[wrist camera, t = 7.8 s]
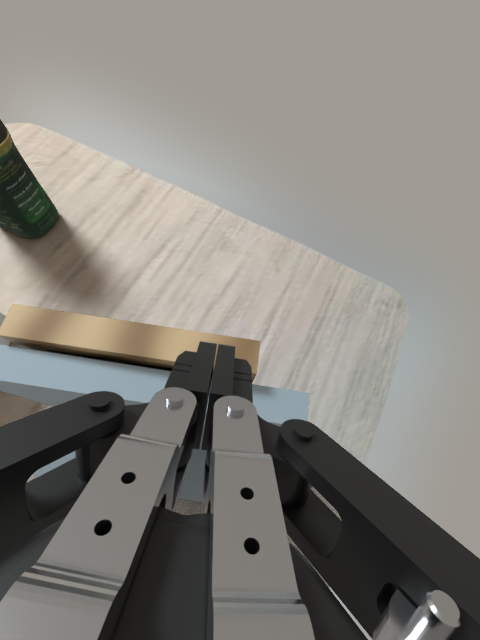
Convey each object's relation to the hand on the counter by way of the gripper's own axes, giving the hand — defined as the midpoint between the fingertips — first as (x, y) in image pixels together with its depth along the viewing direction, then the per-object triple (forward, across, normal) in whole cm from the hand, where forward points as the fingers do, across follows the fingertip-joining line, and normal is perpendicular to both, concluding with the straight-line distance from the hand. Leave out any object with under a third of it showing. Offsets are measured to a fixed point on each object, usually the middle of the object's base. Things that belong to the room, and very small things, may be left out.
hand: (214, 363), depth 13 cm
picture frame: (+19, +6, +14) cm, 24 cm away
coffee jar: (+43, +35, +2) cm, 55 cm away
